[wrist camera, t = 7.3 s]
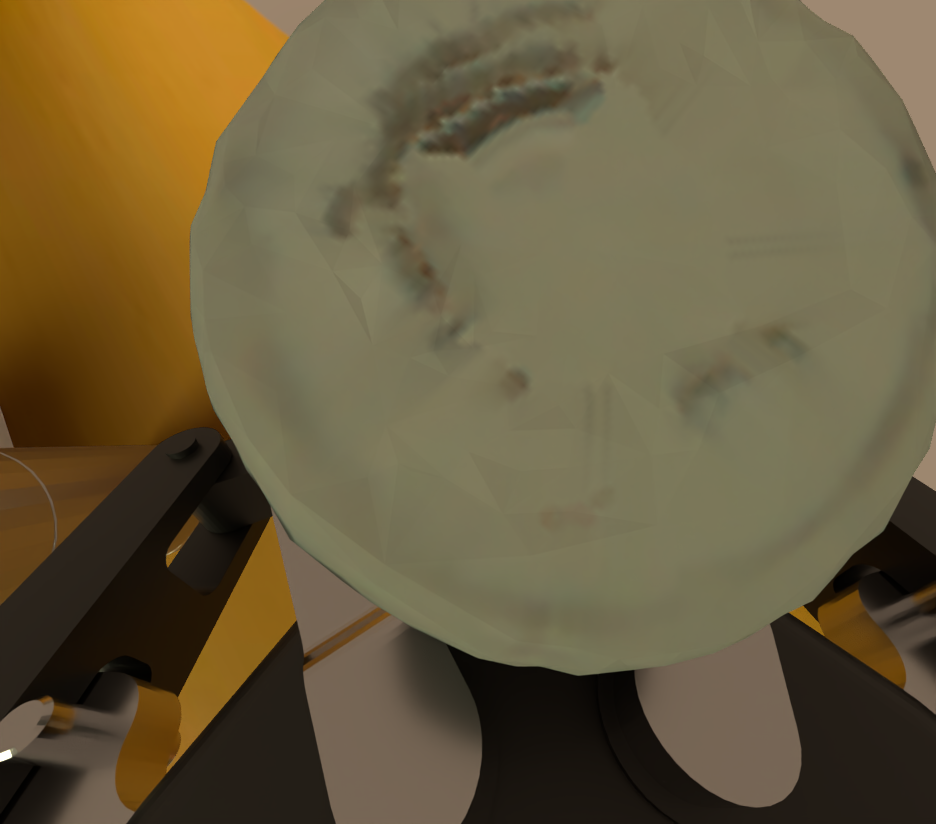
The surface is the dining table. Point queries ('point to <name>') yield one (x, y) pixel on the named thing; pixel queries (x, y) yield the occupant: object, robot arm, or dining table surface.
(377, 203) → the sauce bottle
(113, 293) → the dining table surface
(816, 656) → the robot arm
